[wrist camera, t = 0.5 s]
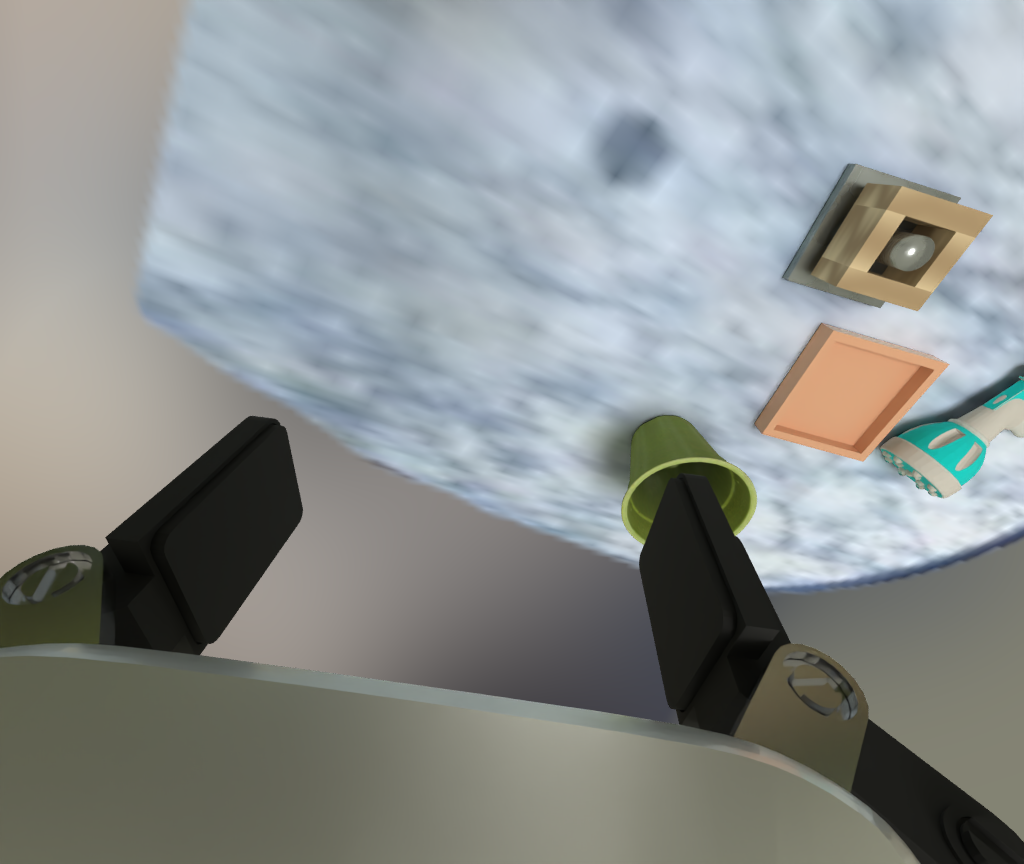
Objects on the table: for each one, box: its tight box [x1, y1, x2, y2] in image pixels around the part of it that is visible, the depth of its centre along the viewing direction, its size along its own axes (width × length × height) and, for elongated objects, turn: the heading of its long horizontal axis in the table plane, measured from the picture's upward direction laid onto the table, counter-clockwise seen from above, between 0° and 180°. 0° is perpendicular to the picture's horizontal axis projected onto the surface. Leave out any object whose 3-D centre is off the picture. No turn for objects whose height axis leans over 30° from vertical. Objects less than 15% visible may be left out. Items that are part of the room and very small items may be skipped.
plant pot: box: [621, 416, 757, 545], centre depth 45 cm, size 12×12×11 cm
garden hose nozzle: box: [880, 376, 1024, 498], centre depth 43 cm, size 7×18×20 cm
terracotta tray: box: [754, 323, 949, 461], centre depth 44 cm, size 12×12×2 cm
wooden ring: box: [811, 183, 993, 311], centre depth 34 cm, size 7×7×4 cm
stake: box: [783, 164, 961, 308], centre depth 34 cm, size 9×9×6 cm
